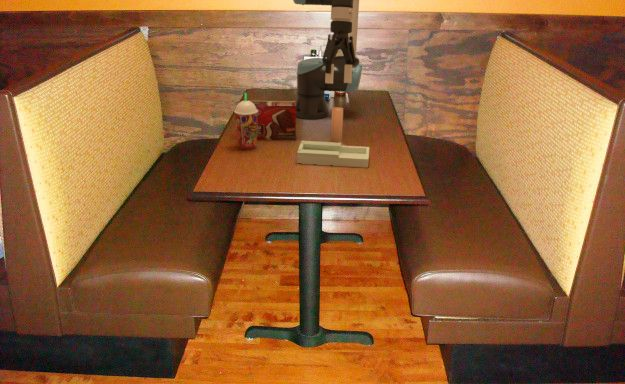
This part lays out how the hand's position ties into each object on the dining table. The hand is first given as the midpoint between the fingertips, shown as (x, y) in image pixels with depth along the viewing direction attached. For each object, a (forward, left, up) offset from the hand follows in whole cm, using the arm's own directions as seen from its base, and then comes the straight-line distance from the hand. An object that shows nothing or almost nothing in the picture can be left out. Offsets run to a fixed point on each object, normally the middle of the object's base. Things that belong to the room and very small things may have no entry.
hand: (338, 83), depth 207 cm
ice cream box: (-3, -26, -23) cm, 35 cm away
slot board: (+16, 0, -23) cm, 28 cm away
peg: (+5, 0, -23) cm, 23 cm away
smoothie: (+9, -32, -23) cm, 40 cm away
